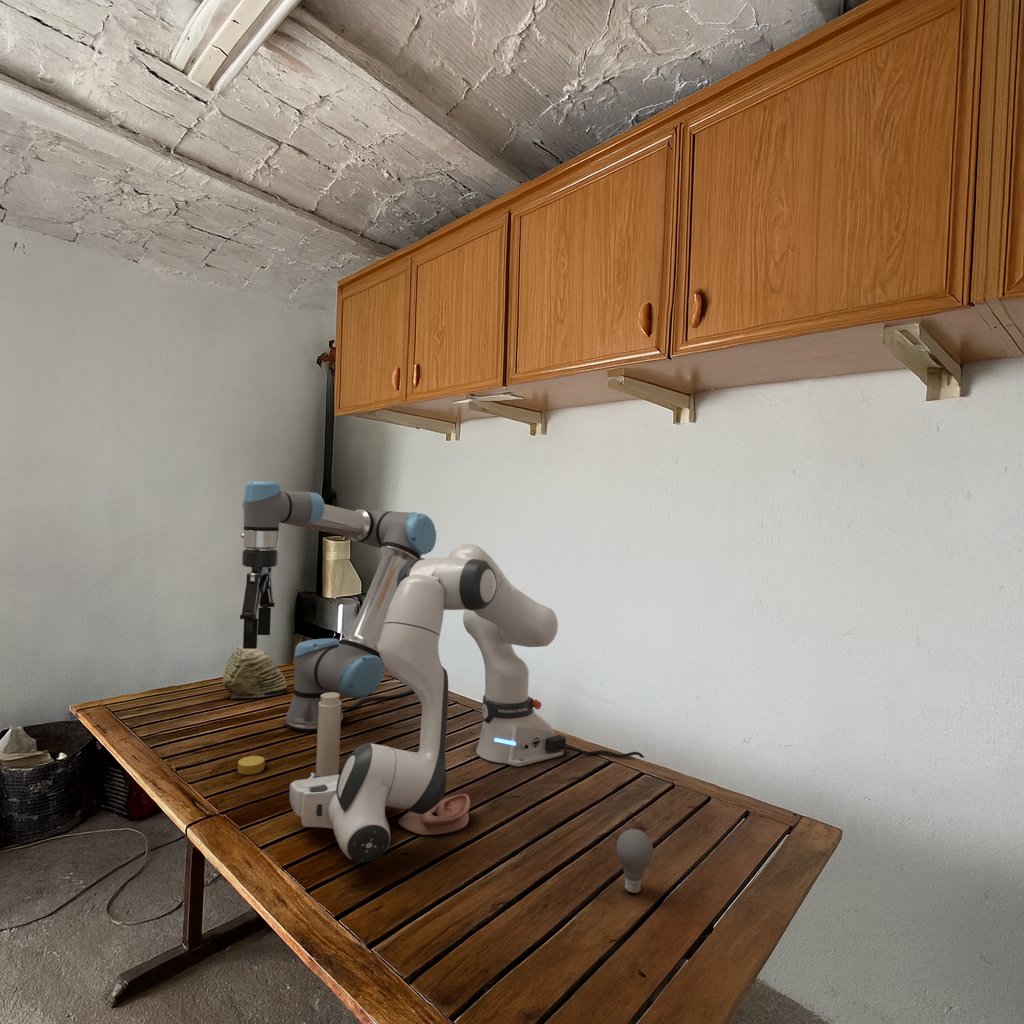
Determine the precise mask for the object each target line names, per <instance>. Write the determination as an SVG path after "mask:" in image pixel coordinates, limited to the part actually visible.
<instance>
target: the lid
mask: <svg viewBox="0 0 1024 1024" xmlns="http://www.w3.org/2000/svg"><path fill="white" fill-rule="evenodd" d="M265 767H266V760H265V758H264V757H263V756H260V755H249V756H245V757H242V758H240V759H239V760H238V761H237V768H236V769H237V770H236V771H237V772H238V774H240V775H245V776H247V775H255V774H259V773H261V772H263V771H264V769H265Z"/></svg>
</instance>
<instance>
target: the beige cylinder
mask: <svg viewBox="0 0 1024 1024" xmlns="http://www.w3.org/2000/svg"><path fill="white" fill-rule="evenodd" d="M320 697H321V701H320V702H319V704H318V730H317V732H316V733H317V734H316V757H315V759H316V760H315V772H318V773H319V777H324V776H331V775H339V774H340V755H341V730H342V729H341V726H342V723H341V706H343V705H342V700H340V698H341V695H340V694H339V693H335V692H328V693H324V694H322V695H321V696H320Z"/></svg>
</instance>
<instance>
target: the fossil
mask: <svg viewBox="0 0 1024 1024" xmlns="http://www.w3.org/2000/svg"><path fill="white" fill-rule="evenodd" d="M222 676H223V677H222V685H223V687H224V688H225V690H226V691H228V693H229V698H230V699H250V698H264V697H271V696H275V695H281V694H284V693H285V691H286V689H287V687H288V686H287V680H286V678H285V676H284V674H283V673H282V672H281V669H279V668H278V667H277V665H276V663H275V662H274V660H273V659H272V658H271V657H270V656H269V655H268V654H267V653H266V652H265V650H264V649H263V648H260V647H257V648H256V649H243V646H238V647H237V648H236V649H235V650H233V651H232V653H231V656H230V657H229V659H228V660H227V663H226V666H225V668H224V671H223V675H222Z"/></svg>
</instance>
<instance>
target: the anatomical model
mask: <svg viewBox="0 0 1024 1024" xmlns="http://www.w3.org/2000/svg"><path fill="white" fill-rule="evenodd" d="M470 808H471V799H470V796H469V795H468V794H466V793H461V794H456V795H452V796H448V797H447V798H442V800H441V801H440V802H439V803H438V804H437V805H436V806H435V807H434V808H432V809H431V810H430V811H428V812H426V813H424V814H421V815H420V814H417V813H413V812H409V811H407V813H405V814H404V815H403V816H402V817H400V818H399V820H398V822H397V823H398V825H399V826H400V827H402V828H403V829H405V830H406V831H409V832H411V833H413V834H417V835H421V836H431V835H432V836H433V835H442V834H448V833H452V832H456V831H459V830H461V829H463V828H464V827H466V826H467V825H468V823H469V821H470V816H469V810H470Z"/></svg>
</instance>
